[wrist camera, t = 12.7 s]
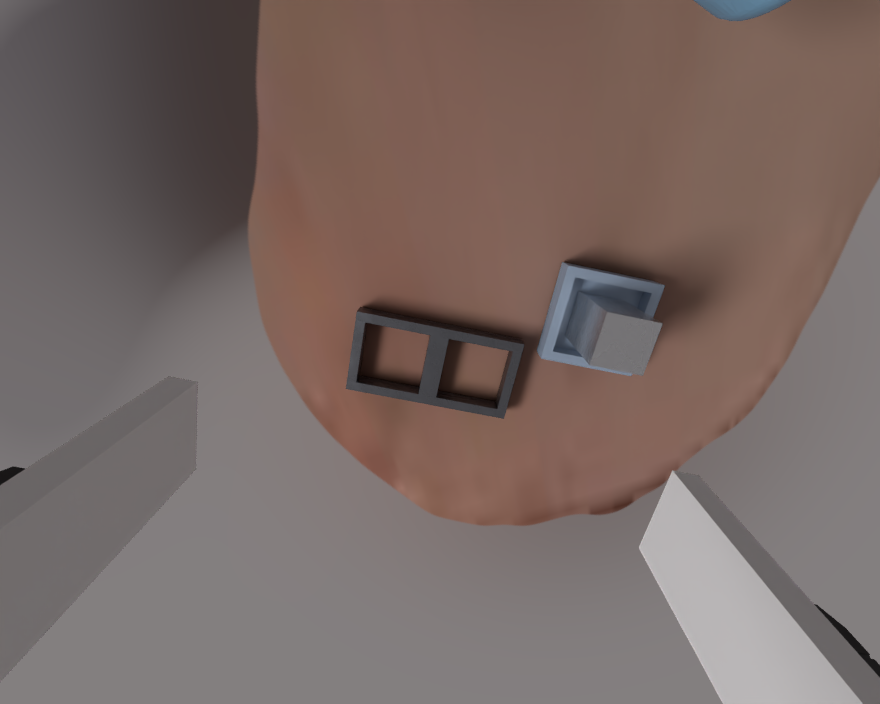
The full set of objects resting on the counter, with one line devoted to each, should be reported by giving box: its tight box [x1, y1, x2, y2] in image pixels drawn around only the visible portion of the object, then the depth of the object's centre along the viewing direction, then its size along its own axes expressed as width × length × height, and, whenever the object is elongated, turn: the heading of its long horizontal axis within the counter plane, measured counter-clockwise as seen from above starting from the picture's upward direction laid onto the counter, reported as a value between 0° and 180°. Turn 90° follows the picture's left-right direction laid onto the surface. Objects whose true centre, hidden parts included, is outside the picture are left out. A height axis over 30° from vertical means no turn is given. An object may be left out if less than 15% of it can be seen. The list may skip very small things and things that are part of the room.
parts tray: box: [537, 262, 665, 376], centre depth 47 cm, size 10×10×2 cm
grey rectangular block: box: [565, 291, 663, 376], centre depth 44 cm, size 5×5×9 cm
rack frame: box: [346, 307, 524, 419], centre depth 50 cm, size 9×18×2 cm, turn 79°
